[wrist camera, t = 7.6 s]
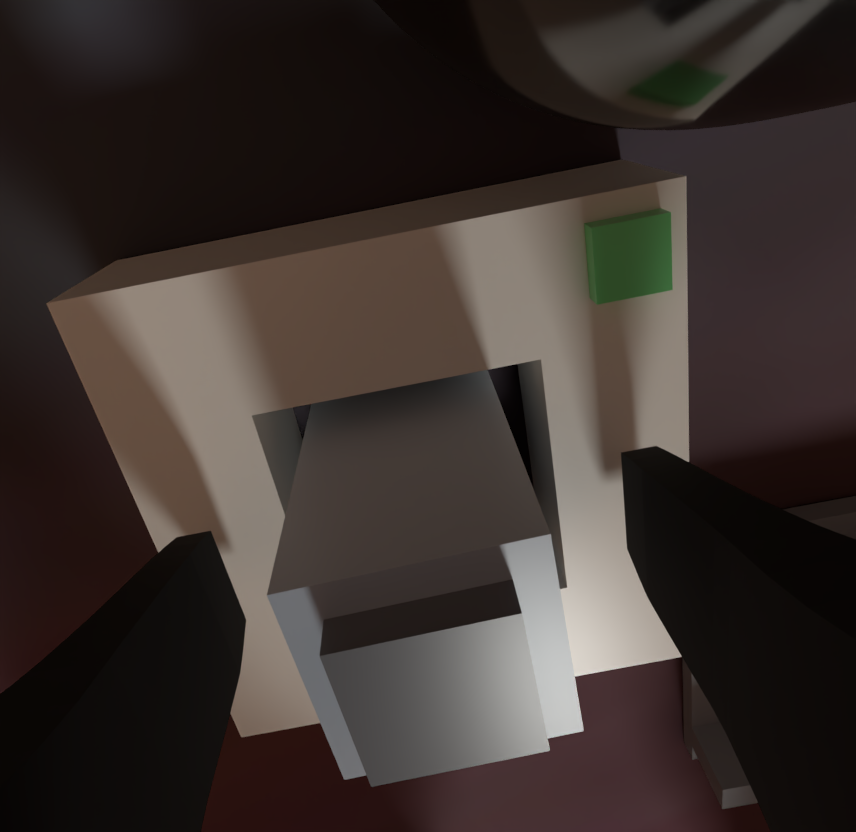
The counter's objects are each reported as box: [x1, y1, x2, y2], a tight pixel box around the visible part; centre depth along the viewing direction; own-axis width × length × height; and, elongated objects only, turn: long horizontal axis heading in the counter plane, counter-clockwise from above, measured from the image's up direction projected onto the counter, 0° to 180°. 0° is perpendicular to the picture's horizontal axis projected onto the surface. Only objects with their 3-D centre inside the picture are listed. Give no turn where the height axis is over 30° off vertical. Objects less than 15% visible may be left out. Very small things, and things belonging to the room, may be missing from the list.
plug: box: [267, 370, 584, 787], centre depth 12 cm, size 4×4×8 cm
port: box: [46, 160, 689, 737], centre depth 14 cm, size 10×10×3 cm
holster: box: [682, 496, 856, 809], centre depth 17 cm, size 8×6×2 cm
